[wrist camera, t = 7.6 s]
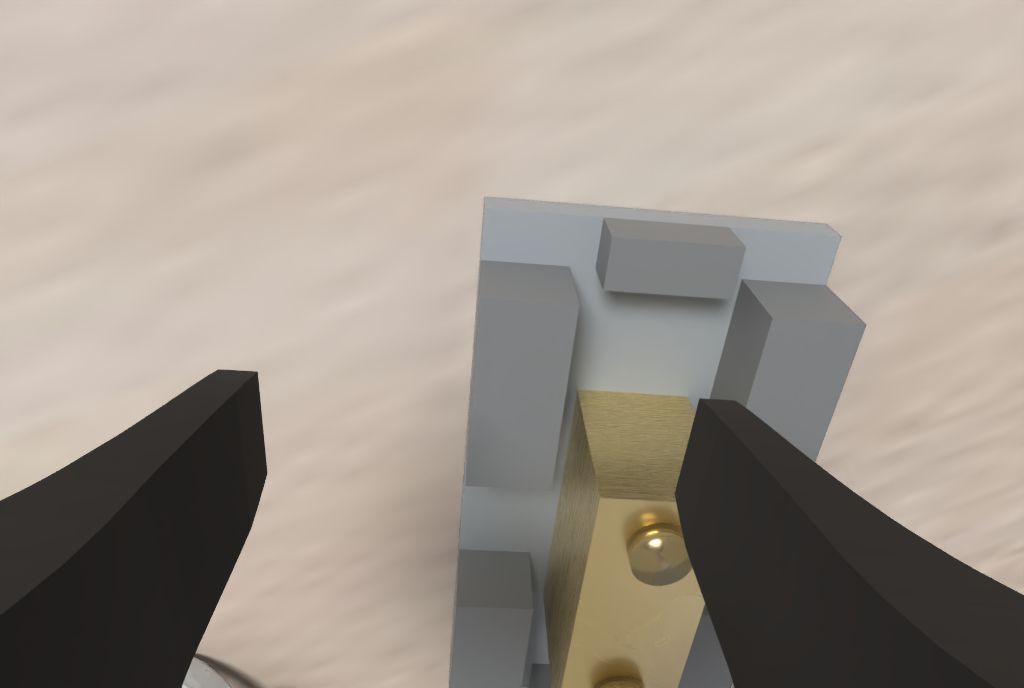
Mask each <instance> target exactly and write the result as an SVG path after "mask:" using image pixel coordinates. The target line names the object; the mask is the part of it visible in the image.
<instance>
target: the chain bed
mask: <svg viewBox="0 0 1024 688" xmlns="http://www.w3.org/2000/svg"><path fill="white" fill-rule="evenodd" d="M841 238H842V236H841V235H840V234H839V233H838V232H836V231H835V230H834V229H832V228H831V227H830V226H829V225H827V224H820V223H807V222H794V221H782V220H769V219H757V218H744V217H731V216H719V215H706V214H694V213H681V212H669V211H656V210H643V209H631V208H618V207H606V206H593V205H580V204H568V203H555V202H543V201H530V200H517V199H505V198H492V197H484V211H483V224H482V237H481V251H480V264H479V278H478V291H477V305H476V318H475V332H474V345H473V358H472V372H471V385H470V399H469V412H468V426H467V439H466V453H465V466H464V479H463V493H462V506H461V520H460V533H459V547H458V560H457V574H456V587H455V600H454V614H453V627H452V641H451V654H450V670H449V688H521V687H522V688H551V678H550V667H549V656H548V644H547V633H546V622H545V611H544V600H543V591H544V585H545V579H546V573H547V567H548V561H549V555H550V549H551V543H552V537H553V531H554V525H555V519H556V513H557V507H558V501H559V495H560V489H561V483H562V477H563V471H564V465H565V459H566V454H567V448H568V442H569V436H570V430H571V424H572V418H573V412H574V406H575V400H576V394H577V389H579V390H595V391H610V392H625V393H641V394H656V395H671V396H686V397H688V399H689V401H690V403H691V405H692V408H693V410H694V412H695V414H696V410H697V406H698V402H699V398H703V399H719V400H735V401H737V402H738V403H740V404H741V405H743V406H744V407H746V408H747V409H748V410H750V411H751V412H752V413H754V414H755V415H756V416H757V417H759V418H760V419H761V420H763V421H764V422H765V423H766V424H768V425H769V426H770V427H771V428H773V429H774V430H775V431H776V432H778V433H779V434H780V435H781V436H782V437H784V438H785V439H786V440H787V441H789V442H790V443H791V444H792V445H794V446H795V447H796V448H797V449H799V450H800V451H801V452H802V453H804V454H805V455H806V456H807V457H809V458H810V459H811V460H812V461H814V462H815V461H816V458H817V456H818V453H819V450H820V448H821V445H822V442H823V440H824V437H825V434H826V432H827V429H828V426H829V424H830V421H831V418H832V416H833V413H834V410H835V408H836V405H837V402H838V400H839V397H840V394H841V392H842V389H843V386H844V384H845V381H846V378H847V376H848V373H849V370H850V368H851V365H852V362H853V359H854V357H855V354H856V351H857V349H858V346H859V343H860V341H861V338H862V335H863V333H864V330H865V327H866V324H865V323H864V322H863V321H862V320H861V319H860V318H859V317H858V316H857V315H856V314H855V313H854V312H853V311H852V310H851V309H850V308H849V307H848V306H847V305H846V304H845V303H844V302H843V301H842V300H840V299H839V298H838V297H837V296H836V295H835V294H834V293H833V292H832V291H831V290H830V289H829V288H828V287H827V286H826V283H827V280H828V277H829V274H830V271H831V268H832V265H833V262H834V259H835V256H836V253H837V250H838V247H839V244H840V241H841ZM732 683H733V681H732V677H731V674H730V671H729V668H728V665H727V662H726V660H725V657H724V654H723V651H722V649H721V646H720V643H719V640H718V638H717V635H716V632H715V629H714V626H713V624H712V621H711V618H710V615H709V613H708V610H707V607H706V604H705V605H704V608H703V612H702V615H701V618H700V621H699V624H698V627H697V630H696V633H695V636H694V639H693V642H692V645H691V648H690V651H689V654H688V657H687V660H686V663H685V667H684V670H683V673H682V676H681V679H680V682H679V685H678V688H731V686H732Z"/></svg>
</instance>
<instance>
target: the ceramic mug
mask: <svg viewBox="0 0 1024 688" xmlns="http://www.w3.org/2000/svg"><path fill="white" fill-rule="evenodd" d="M182 688H232V687H231V686H230V684H229V683H228V681H227V680H226V679H225V678H223V677H222V676H221V675H219V674H218V673H217V672H216V671H215V670H214V669H213V668H211V667H209V664H207V663H205V662H204V661H202V660H199V659H197V658H195V657H193V660H192V662H191V665H190V667H189V670H188V672H187V675H186V677H185V680H184V682H183V685H182Z"/></svg>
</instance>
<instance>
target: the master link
mask: <svg viewBox="0 0 1024 688" xmlns="http://www.w3.org/2000/svg"><path fill="white" fill-rule="evenodd" d="M694 417H695V412H694V410H693V408H692V405H691V403H690V401H689V399H688V397H686V396H671V395H656V394H641V393H625V392H610V391H595V390H579V389H577V394H576V400H575V406H574V412H573V418H572V424H571V430H570V436H569V442H568V448H567V454H566V459H565V465H564V471H563V477H562V483H561V489H560V495H559V501H558V507H557V513H556V519H555V525H554V531H553V537H552V543H551V549H550V555H549V561H548V567H547V573H546V579H545V585H544V591H543V600H544V611H545V622H546V633H547V644H548V656H549V667H550V678H551V688H678V685H679V682H680V679H681V676H682V673H683V670H684V667H685V663H686V660H687V657H688V654H689V651H690V648H691V645H692V642H693V639H694V636H695V633H696V630H697V627H698V624H699V621H700V618H701V615H702V612H703V608H704V605H705V601H704V599H703V596H702V593H701V590H700V588H699V585H698V582H697V579H696V576H695V573H694V570H693V568H692V565H691V562H690V559H689V556H688V553H687V550H686V547H685V543H684V538H683V534H682V529H681V525H680V520H679V514H678V509H677V504H676V499H675V490H676V486H677V483H678V479H679V475H680V471H681V467H682V463H683V460H684V456H685V452H686V448H687V444H688V440H689V437H690V433H691V429H692V425H693V421H694Z"/></svg>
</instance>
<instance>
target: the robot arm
mask: <svg viewBox="0 0 1024 688" xmlns="http://www.w3.org/2000/svg"><path fill="white" fill-rule="evenodd" d="M266 476H267V465H266V455H265V445H264V434H263V424H262V413H261V403H260V392H259V382H258V372H253V371H236V370H219V369H218V370H217V371H215V372H213V373H212V374H210V375H208V376H207V377H205V378H204V379H202V380H200V381H199V382H197V383H196V384H194V385H193V386H191V387H190V388H188V389H187V390H185V391H184V392H183V393H181V394H180V395H178V396H177V397H175V398H174V399H172V400H171V401H169V402H168V403H166V404H165V405H163V406H162V407H160V408H159V409H157V410H156V411H154V412H153V413H151V414H150V415H148V416H147V417H145V418H144V419H142V420H141V421H139V422H138V423H136V424H135V425H133V426H131V427H130V428H128V429H127V430H125V431H124V432H122V433H121V434H119V435H118V436H116V437H114V438H112V439H111V440H109V441H107V442H106V443H104V444H102V445H101V446H99V447H97V448H96V449H94V450H92V451H91V452H89V453H87V454H86V455H84V456H82V457H81V458H79V459H77V460H76V461H74V462H72V463H71V464H69V465H67V466H66V467H64V468H62V469H61V470H59V471H57V472H55V473H53V474H52V475H50V476H48V477H46V478H44V479H42V480H41V481H39V482H37V483H35V484H33V485H31V486H29V487H27V488H25V489H23V490H21V491H19V492H17V493H15V494H13V495H11V496H9V497H7V498H5V499H3V500H1V501H0V688H182V685H183V682H184V680H185V677H186V675H187V672H188V670H189V667H190V665H191V662H192V660H193V657H194V655H195V652H196V650H197V648H198V646H199V643H200V641H201V639H202V637H203V635H204V632H205V630H206V628H207V626H208V624H209V621H210V619H211V617H212V615H213V612H214V610H215V608H216V606H217V604H218V601H219V599H220V597H221V595H222V593H223V590H224V588H225V586H226V584H227V582H228V579H229V577H230V575H231V573H232V571H233V568H234V566H235V564H236V562H237V559H238V557H239V555H240V553H241V550H242V548H243V546H244V544H245V541H246V539H247V537H248V534H249V532H250V530H251V527H252V524H253V521H254V517H255V514H256V511H257V508H258V505H259V501H260V497H261V494H262V490H263V487H264V483H265V480H266ZM675 499H676V504H677V509H678V514H679V520H680V525H681V529H682V534H683V538H684V543H685V547H686V550H687V553H688V556H689V559H690V562H691V565H692V568H693V570H694V573H695V576H696V579H697V582H698V585H699V588H700V590H701V593H702V596H703V599H704V601H705V604H706V607H707V610H708V613H709V615H710V618H711V621H712V624H713V626H714V629H715V632H716V635H717V638H718V640H719V643H720V646H721V649H722V651H723V654H724V657H725V660H726V662H727V665H728V668H729V671H730V674H731V677H732V681H733V684H734V687H735V688H1024V595H1022V594H1020V593H1018V592H1017V591H1015V590H1013V589H1011V588H1009V587H1007V586H1005V585H1003V584H1001V583H999V582H998V581H996V580H994V579H992V578H990V577H988V576H986V575H984V574H982V573H980V572H979V571H977V570H975V569H973V568H972V567H970V566H968V565H966V564H964V563H963V562H961V561H959V560H957V559H956V558H954V557H952V556H951V555H949V554H947V553H946V552H944V551H942V550H941V549H939V548H937V547H936V546H934V545H933V544H931V543H929V542H928V541H926V540H924V539H923V538H921V537H920V536H918V535H916V534H915V533H913V532H911V531H910V530H908V529H907V528H905V527H904V526H902V525H901V524H899V523H898V522H896V521H894V520H893V519H891V518H890V517H888V516H887V515H886V514H884V513H883V512H881V511H880V510H879V509H877V508H876V507H874V506H873V505H871V504H870V503H869V502H867V501H866V500H864V499H863V498H862V497H860V496H859V495H857V494H856V493H854V492H853V491H852V490H850V489H849V488H848V487H846V486H845V485H844V484H842V483H841V482H840V481H838V480H837V479H836V478H834V477H833V476H832V475H830V474H829V473H828V472H827V471H825V470H824V469H823V468H821V467H820V466H819V465H818V464H816V463H815V462H814V461H812V460H811V459H810V458H809V457H807V456H806V455H805V454H804V453H802V452H801V451H800V450H799V449H797V448H796V447H795V446H794V445H792V444H791V443H790V442H789V441H787V440H786V439H785V438H784V437H782V436H781V435H780V434H779V433H778V432H776V431H775V430H774V429H773V428H771V427H770V426H769V425H768V424H766V423H765V422H764V421H763V420H761V419H760V418H759V417H757V416H756V415H755V414H754V413H752V412H751V411H750V410H748V409H747V408H746V407H744V406H743V405H741V404H740V403H738V402H737V401H735V400H719V399H703V398H699V402H698V406H697V410H696V414H695V417H694V421H693V425H692V429H691V433H690V437H689V440H688V444H687V448H686V452H685V456H684V460H683V463H682V467H681V471H680V475H679V479H678V483H677V486H676V490H675Z"/></svg>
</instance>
